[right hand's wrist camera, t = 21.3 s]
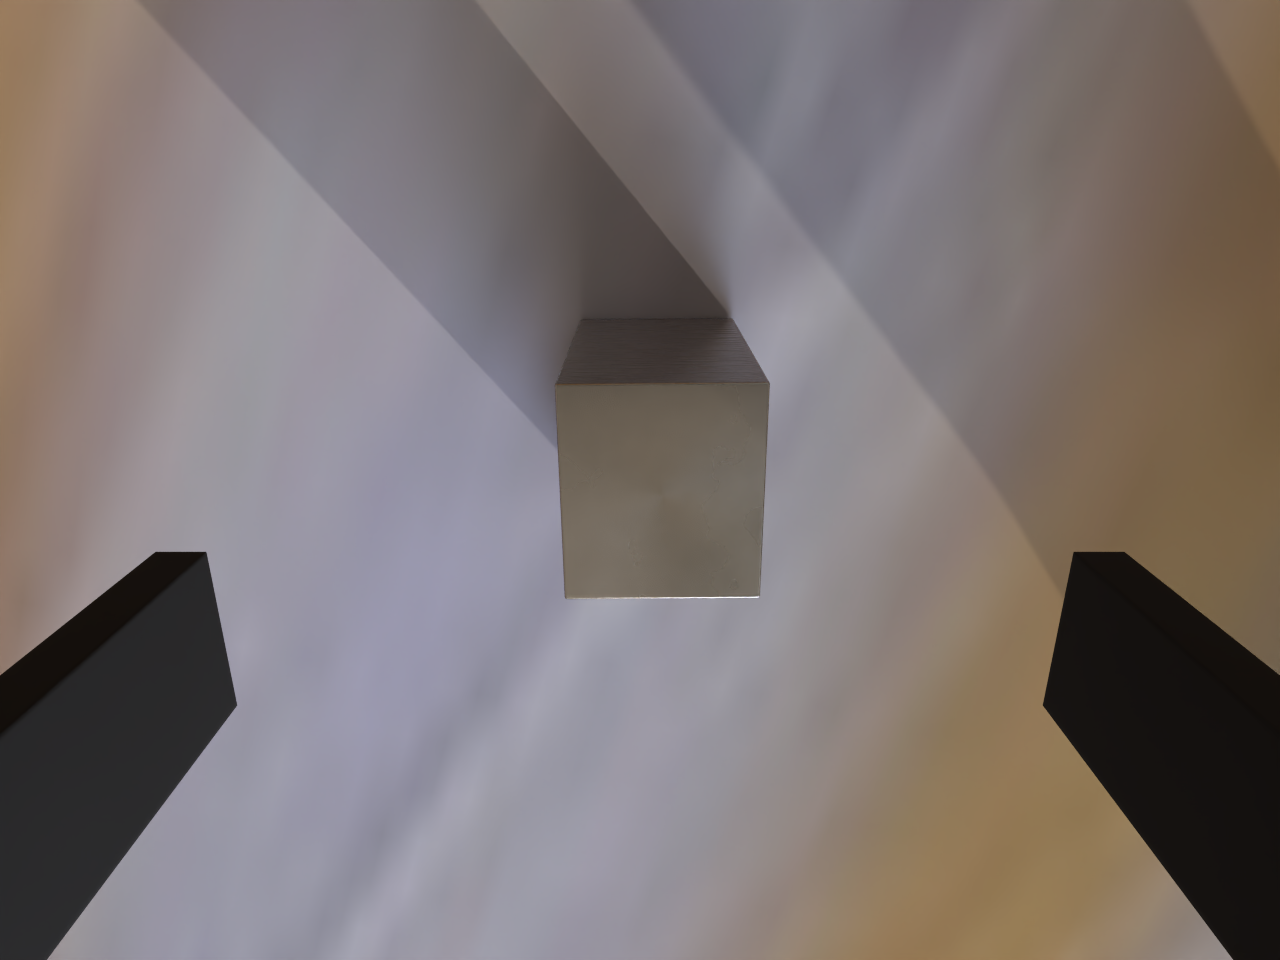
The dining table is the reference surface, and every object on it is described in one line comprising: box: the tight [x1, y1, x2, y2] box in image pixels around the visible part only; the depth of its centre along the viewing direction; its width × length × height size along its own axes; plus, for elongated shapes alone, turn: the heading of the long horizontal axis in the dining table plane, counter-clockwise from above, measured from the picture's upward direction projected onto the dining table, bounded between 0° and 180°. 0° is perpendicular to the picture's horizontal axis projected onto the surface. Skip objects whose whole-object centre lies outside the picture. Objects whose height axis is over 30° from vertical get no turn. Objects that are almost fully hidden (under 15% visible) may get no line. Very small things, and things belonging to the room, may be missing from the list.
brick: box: [555, 318, 770, 599], centre depth 23 cm, size 5×5×8 cm
